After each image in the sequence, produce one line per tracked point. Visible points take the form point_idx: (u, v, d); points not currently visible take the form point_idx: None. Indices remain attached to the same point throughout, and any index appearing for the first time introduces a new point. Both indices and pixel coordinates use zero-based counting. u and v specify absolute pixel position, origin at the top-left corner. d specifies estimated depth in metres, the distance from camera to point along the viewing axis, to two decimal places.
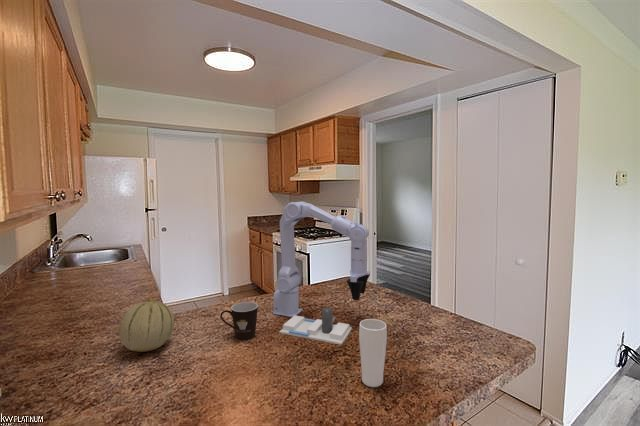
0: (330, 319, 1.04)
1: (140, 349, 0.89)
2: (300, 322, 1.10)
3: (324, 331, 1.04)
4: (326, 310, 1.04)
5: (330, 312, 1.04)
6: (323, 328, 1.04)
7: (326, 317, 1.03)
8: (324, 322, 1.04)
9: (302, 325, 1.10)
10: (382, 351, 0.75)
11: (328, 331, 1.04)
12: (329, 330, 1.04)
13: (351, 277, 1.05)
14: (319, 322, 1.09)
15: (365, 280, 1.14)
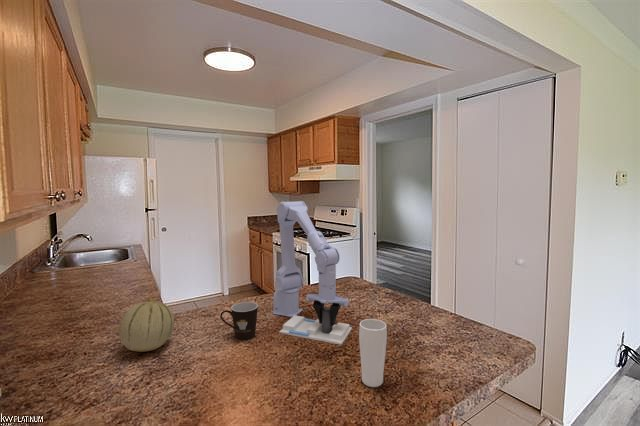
0: (330, 319, 1.04)
1: (140, 349, 0.89)
2: (300, 322, 1.10)
3: (324, 331, 1.04)
4: (326, 310, 1.04)
5: (330, 312, 1.04)
6: (323, 328, 1.04)
7: (326, 317, 1.03)
8: (324, 322, 1.04)
9: (302, 325, 1.10)
10: (382, 351, 0.75)
11: (328, 331, 1.04)
12: (329, 330, 1.04)
13: None
14: None
15: None
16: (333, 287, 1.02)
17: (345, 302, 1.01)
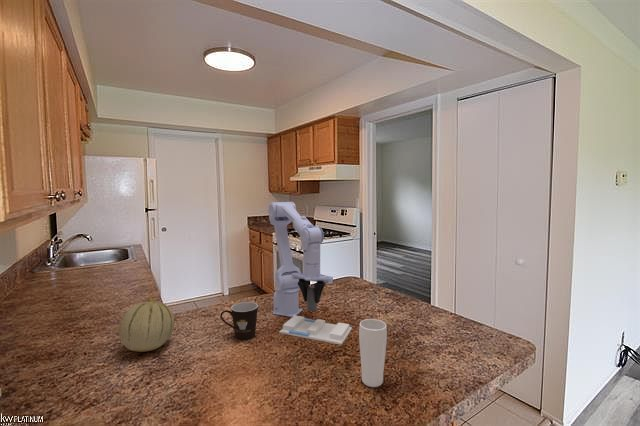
0: None
1: (140, 349, 0.89)
2: (300, 322, 1.10)
3: (309, 308, 1.06)
4: (311, 288, 1.06)
5: None
6: (307, 306, 1.06)
7: (311, 295, 1.05)
8: (309, 300, 1.05)
9: (302, 325, 1.10)
10: (382, 351, 0.75)
11: (313, 308, 1.05)
12: (314, 307, 1.05)
13: None
14: (319, 322, 1.09)
15: None
16: (317, 265, 1.04)
17: (329, 279, 1.03)
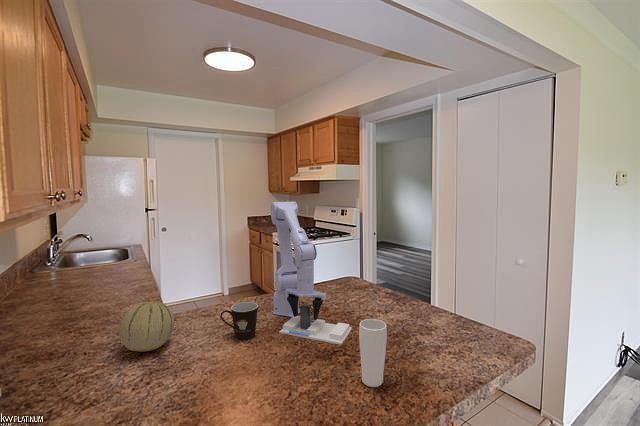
0: (308, 315, 1.07)
1: (140, 349, 0.89)
2: None
3: (302, 327, 1.07)
4: (304, 306, 1.07)
5: (308, 308, 1.07)
6: (301, 324, 1.07)
7: (304, 313, 1.06)
8: (302, 318, 1.07)
9: None
10: (382, 351, 0.75)
11: (306, 327, 1.07)
12: (307, 326, 1.07)
13: None
14: (319, 322, 1.09)
15: None
16: (311, 281, 1.05)
17: (322, 296, 1.04)
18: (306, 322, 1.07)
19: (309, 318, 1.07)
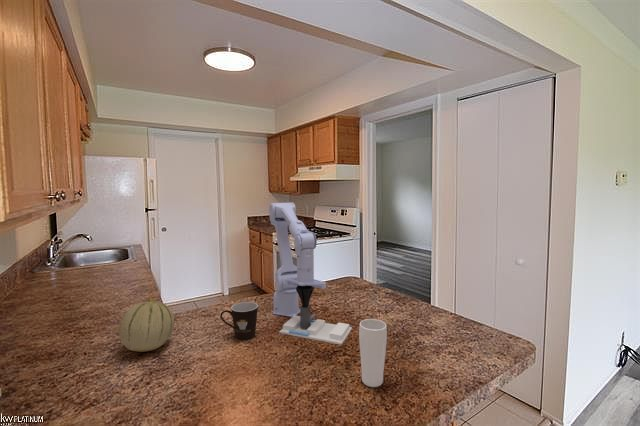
0: (308, 316, 1.07)
1: (140, 349, 0.89)
2: None
3: (302, 327, 1.07)
4: (304, 307, 1.07)
5: (308, 309, 1.06)
6: (301, 325, 1.07)
7: (304, 314, 1.06)
8: (302, 319, 1.07)
9: None
10: (382, 351, 0.75)
11: (306, 327, 1.07)
12: (307, 326, 1.07)
13: None
14: (319, 322, 1.09)
15: None
16: (311, 270, 1.05)
17: (322, 285, 1.04)
18: (306, 323, 1.06)
19: (309, 319, 1.07)
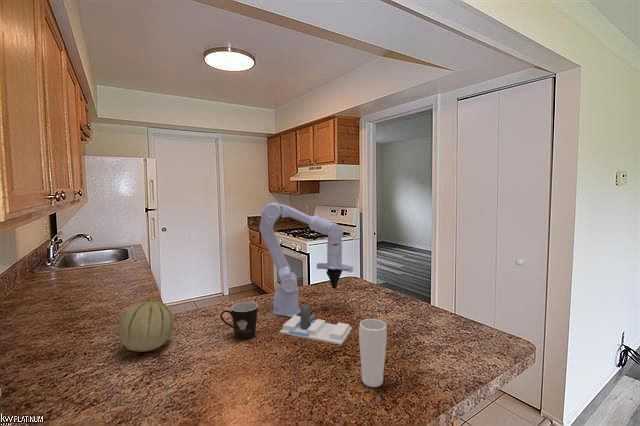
0: (308, 315, 1.07)
1: (140, 349, 0.89)
2: None
3: (302, 327, 1.07)
4: (304, 307, 1.07)
5: (308, 309, 1.06)
6: (301, 325, 1.07)
7: (304, 314, 1.06)
8: (302, 319, 1.07)
9: None
10: (382, 351, 0.75)
11: (306, 327, 1.07)
12: (307, 326, 1.07)
13: None
14: (319, 322, 1.09)
15: None
16: (340, 256, 1.21)
17: (350, 268, 1.20)
18: (306, 322, 1.07)
19: (309, 318, 1.07)
